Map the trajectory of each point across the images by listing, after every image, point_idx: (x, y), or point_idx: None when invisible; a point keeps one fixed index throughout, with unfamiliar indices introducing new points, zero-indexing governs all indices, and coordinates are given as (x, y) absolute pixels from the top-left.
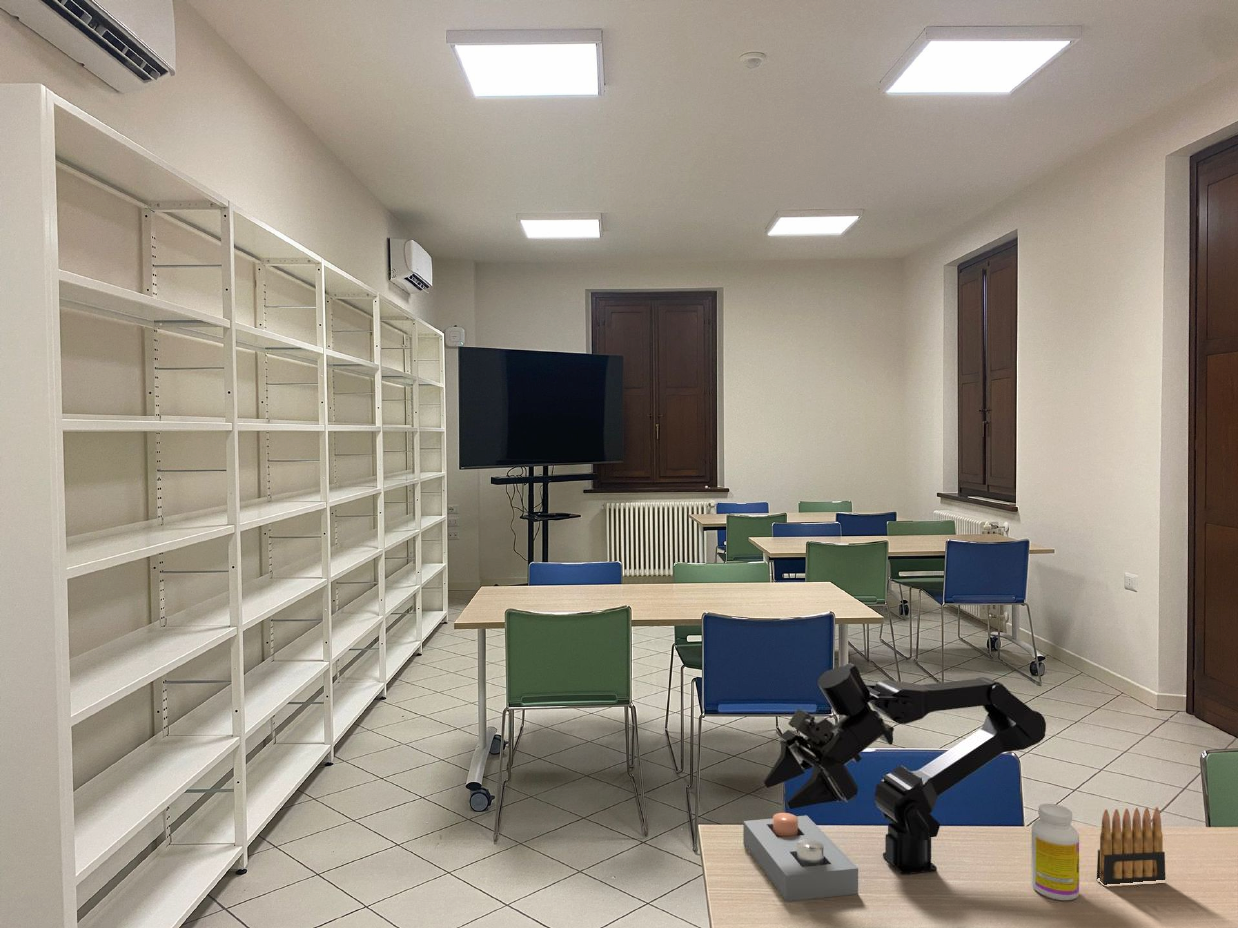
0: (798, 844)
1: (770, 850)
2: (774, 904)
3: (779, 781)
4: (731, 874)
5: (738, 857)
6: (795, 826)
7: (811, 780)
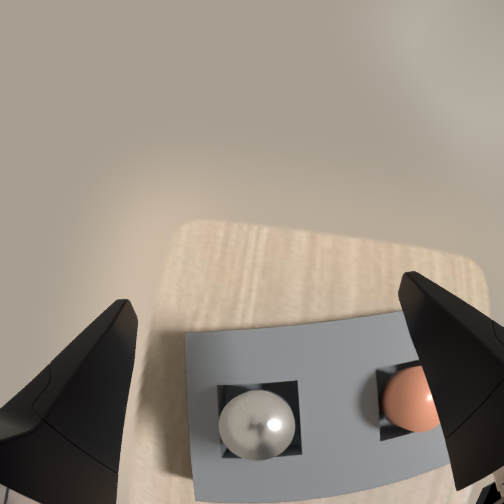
0: (265, 396)
1: (309, 333)
2: (195, 315)
3: (422, 355)
4: (312, 263)
5: (378, 291)
6: (396, 421)
7: (20, 414)
